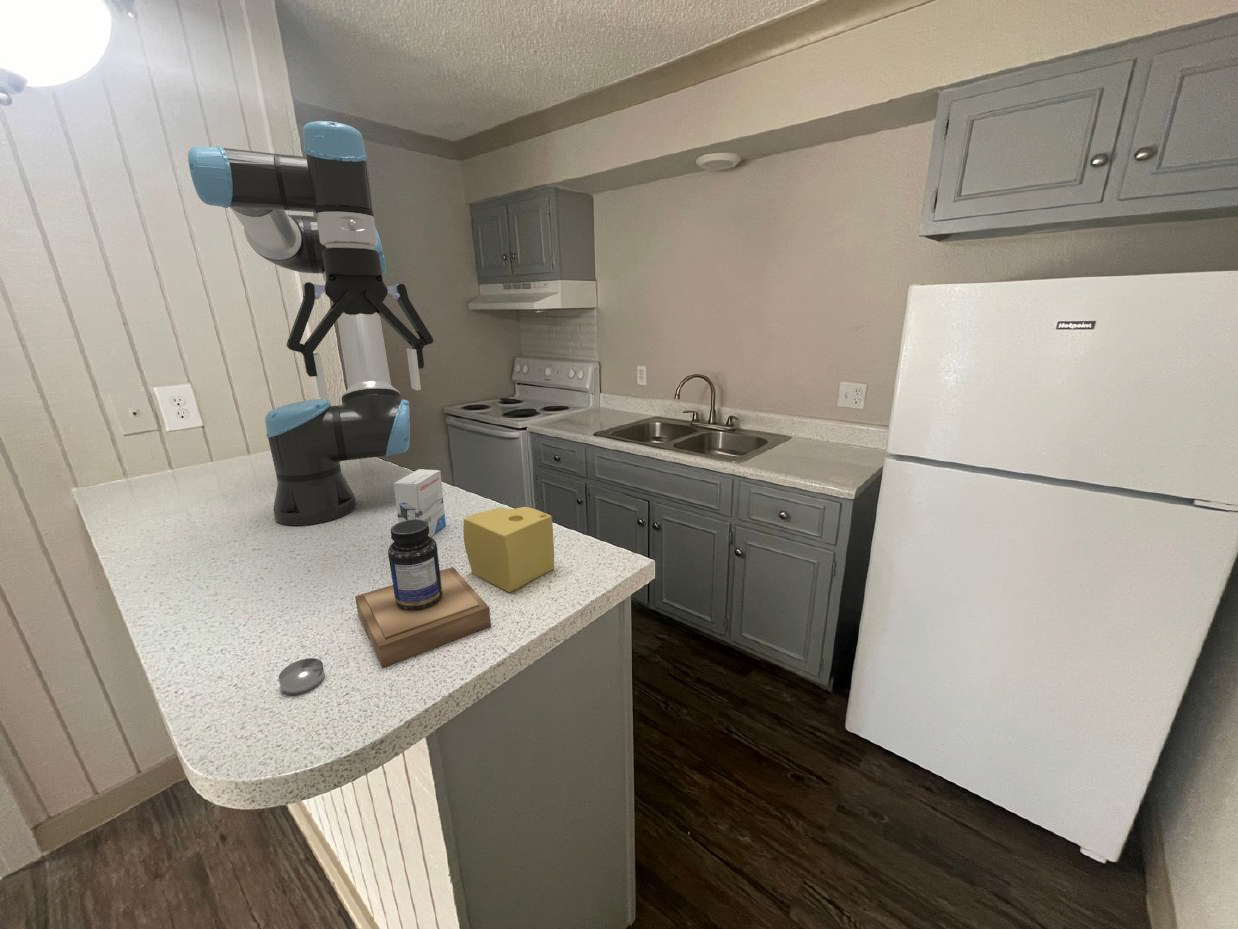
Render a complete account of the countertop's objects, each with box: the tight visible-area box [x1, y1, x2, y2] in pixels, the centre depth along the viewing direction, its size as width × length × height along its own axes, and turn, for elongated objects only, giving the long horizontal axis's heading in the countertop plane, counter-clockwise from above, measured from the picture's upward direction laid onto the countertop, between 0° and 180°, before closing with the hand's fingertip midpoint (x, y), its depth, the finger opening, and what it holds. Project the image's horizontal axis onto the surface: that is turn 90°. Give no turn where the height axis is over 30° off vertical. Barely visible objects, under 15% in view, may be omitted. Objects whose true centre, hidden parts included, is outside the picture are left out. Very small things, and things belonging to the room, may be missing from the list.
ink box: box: [393, 468, 446, 538], centre depth 98 cm, size 9×5×12 cm, turn 168°
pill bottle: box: [387, 519, 442, 610], centre depth 69 cm, size 6×6×11 cm
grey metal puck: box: [278, 657, 326, 697], centre depth 60 cm, size 4×4×2 cm
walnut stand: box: [354, 566, 492, 668], centre depth 71 cm, size 14×14×3 cm
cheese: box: [462, 506, 555, 593], centre depth 83 cm, size 10×11×10 cm
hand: (372, 393), depth 81 cm, fingers open, 13 cm apart
